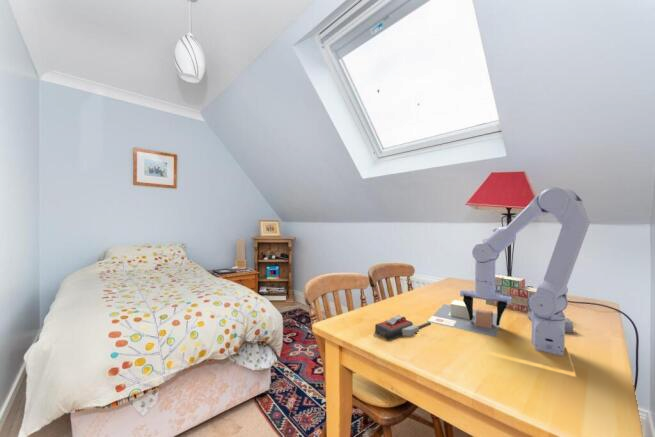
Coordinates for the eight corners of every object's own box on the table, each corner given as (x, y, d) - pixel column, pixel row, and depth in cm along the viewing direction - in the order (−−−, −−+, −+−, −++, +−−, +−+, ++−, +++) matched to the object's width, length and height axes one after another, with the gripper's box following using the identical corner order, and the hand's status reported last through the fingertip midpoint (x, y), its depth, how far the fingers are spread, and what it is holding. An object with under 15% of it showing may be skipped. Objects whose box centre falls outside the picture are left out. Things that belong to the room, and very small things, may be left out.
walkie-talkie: (393, 344, 78) (433, 328, 91) (393, 329, 78) (433, 315, 91) (370, 334, 85) (410, 320, 98) (370, 319, 85) (410, 307, 98)
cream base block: (468, 318, 97) (469, 307, 97) (450, 314, 100) (450, 303, 100) (471, 313, 102) (471, 303, 102) (453, 310, 105) (454, 300, 105)
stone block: (542, 337, 89) (578, 333, 87) (539, 321, 89) (574, 318, 87) (524, 324, 101) (555, 321, 99) (521, 311, 101) (552, 307, 99)
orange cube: (491, 328, 88) (491, 314, 88) (475, 325, 91) (476, 311, 91) (492, 324, 92) (492, 310, 92) (477, 321, 94) (477, 308, 94)
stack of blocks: (553, 316, 103) (553, 283, 103) (547, 319, 100) (547, 285, 100) (492, 301, 121) (492, 273, 121) (485, 304, 117) (485, 275, 117)
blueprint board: (496, 339, 82) (496, 336, 82) (426, 324, 93) (426, 321, 93) (501, 317, 101) (501, 314, 101) (443, 306, 113) (443, 304, 113)
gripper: (511, 281, 90) (511, 323, 90) (463, 275, 99) (462, 313, 99) (511, 285, 85) (510, 330, 85) (459, 278, 93) (458, 319, 93)
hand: (484, 321), depth 91 cm, fingers open, 7 cm apart
